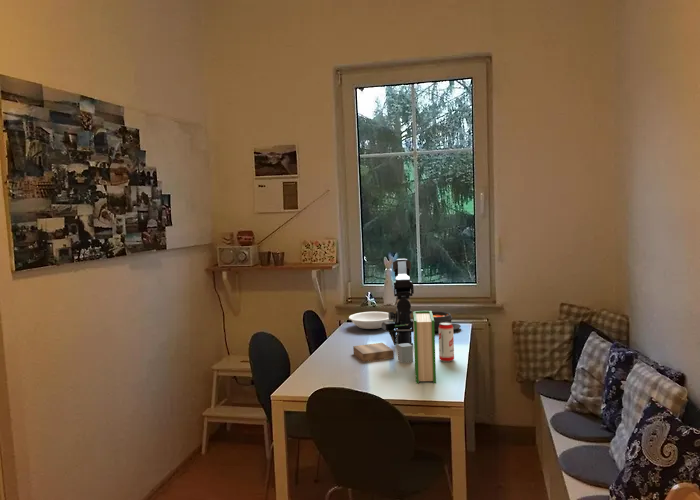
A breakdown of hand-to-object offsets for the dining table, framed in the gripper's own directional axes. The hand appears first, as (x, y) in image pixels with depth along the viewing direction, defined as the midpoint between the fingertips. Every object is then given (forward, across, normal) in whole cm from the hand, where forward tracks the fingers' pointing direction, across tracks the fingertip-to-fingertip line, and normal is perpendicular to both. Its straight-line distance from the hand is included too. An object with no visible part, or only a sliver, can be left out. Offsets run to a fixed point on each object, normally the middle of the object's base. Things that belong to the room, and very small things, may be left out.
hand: (404, 343), depth 243 cm
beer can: (+8, -16, +7) cm, 19 cm away
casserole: (+8, -36, -44) cm, 58 cm away
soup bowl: (+8, -7, -63) cm, 64 cm away
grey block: (+7, 0, 0) cm, 7 cm away
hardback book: (+8, +1, +22) cm, 23 cm away
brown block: (+8, +10, -13) cm, 18 cm away
